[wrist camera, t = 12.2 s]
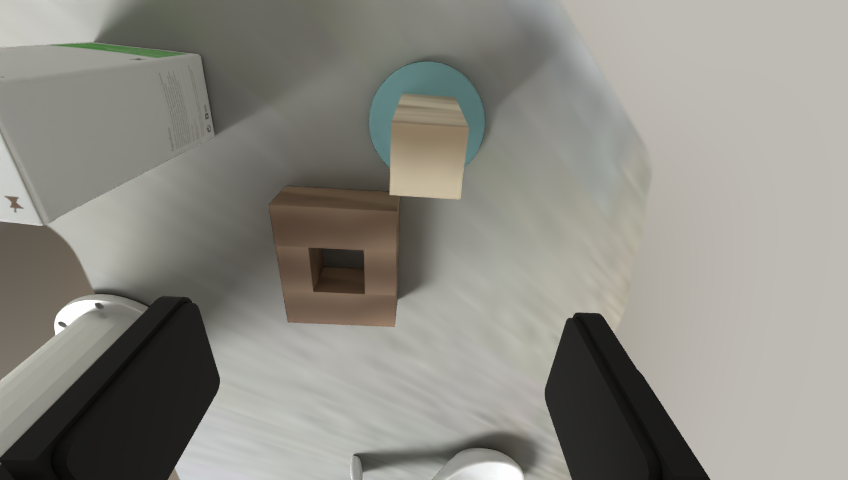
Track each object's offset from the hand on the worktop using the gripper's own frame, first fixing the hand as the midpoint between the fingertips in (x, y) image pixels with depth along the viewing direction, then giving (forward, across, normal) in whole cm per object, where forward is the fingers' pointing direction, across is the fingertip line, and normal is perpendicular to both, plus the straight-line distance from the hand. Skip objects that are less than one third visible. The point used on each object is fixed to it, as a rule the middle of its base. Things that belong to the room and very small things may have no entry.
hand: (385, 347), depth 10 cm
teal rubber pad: (+23, -1, -1) cm, 23 cm away
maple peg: (+22, -1, -1) cm, 22 cm away
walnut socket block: (+24, +6, +11) cm, 27 cm away
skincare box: (+24, +20, -2) cm, 31 cm away
